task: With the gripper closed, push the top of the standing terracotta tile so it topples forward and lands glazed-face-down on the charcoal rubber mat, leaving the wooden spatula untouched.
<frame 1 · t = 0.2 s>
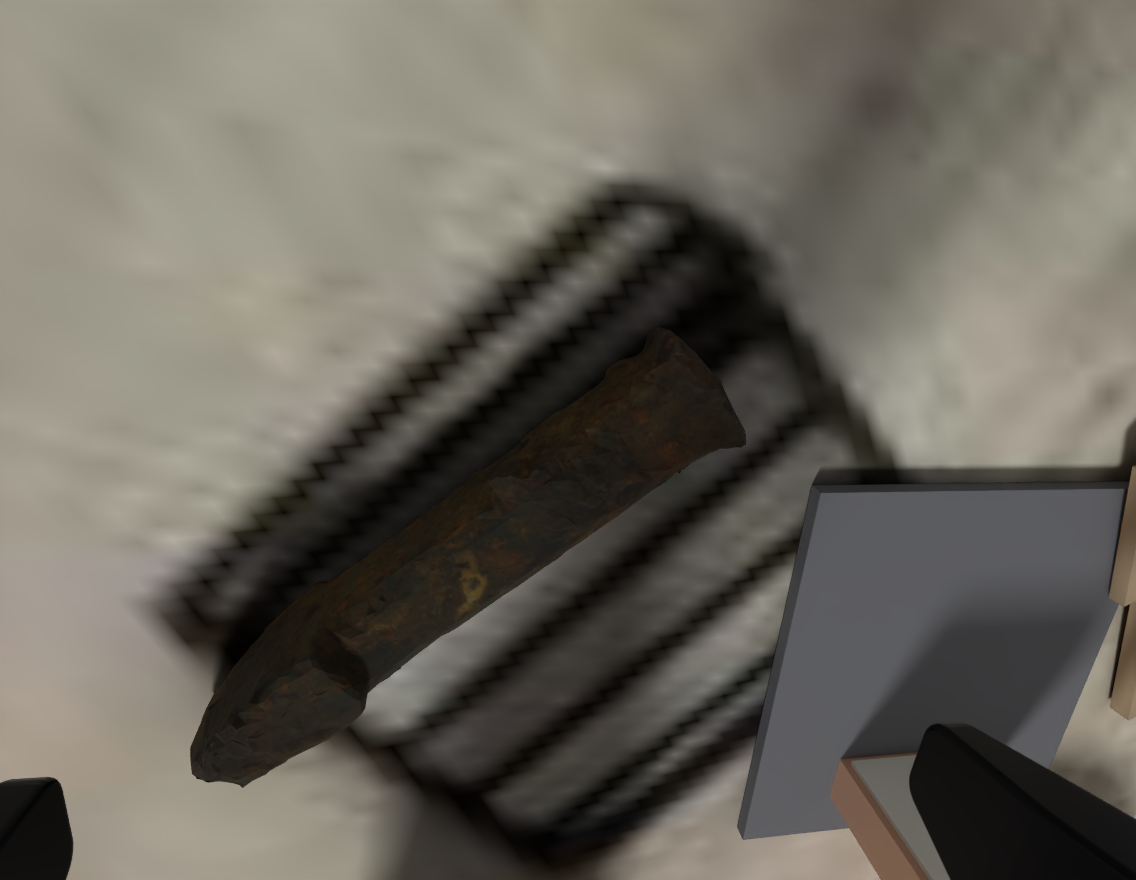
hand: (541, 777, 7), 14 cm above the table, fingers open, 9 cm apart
mat: (933, 664, 28), on the table
hand tool: (454, 539, 23), on the table
tile: (911, 770, 30), point 1 cm above the table, touching mat
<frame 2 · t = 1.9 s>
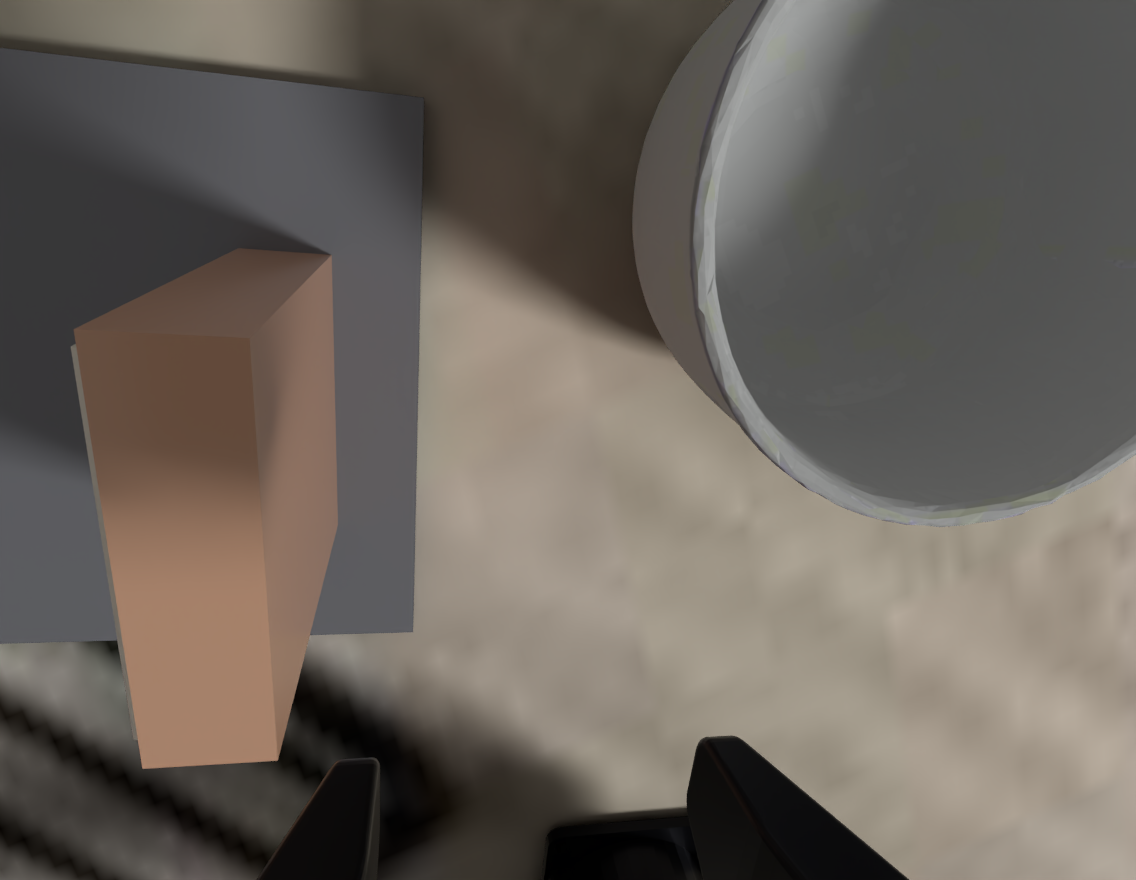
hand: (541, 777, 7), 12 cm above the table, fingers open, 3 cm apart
mat: (75, 382, 17), on the table
tile: (292, 397, 17), point 1 cm above the table, touching mat
teacup: (847, 191, 19), on the table
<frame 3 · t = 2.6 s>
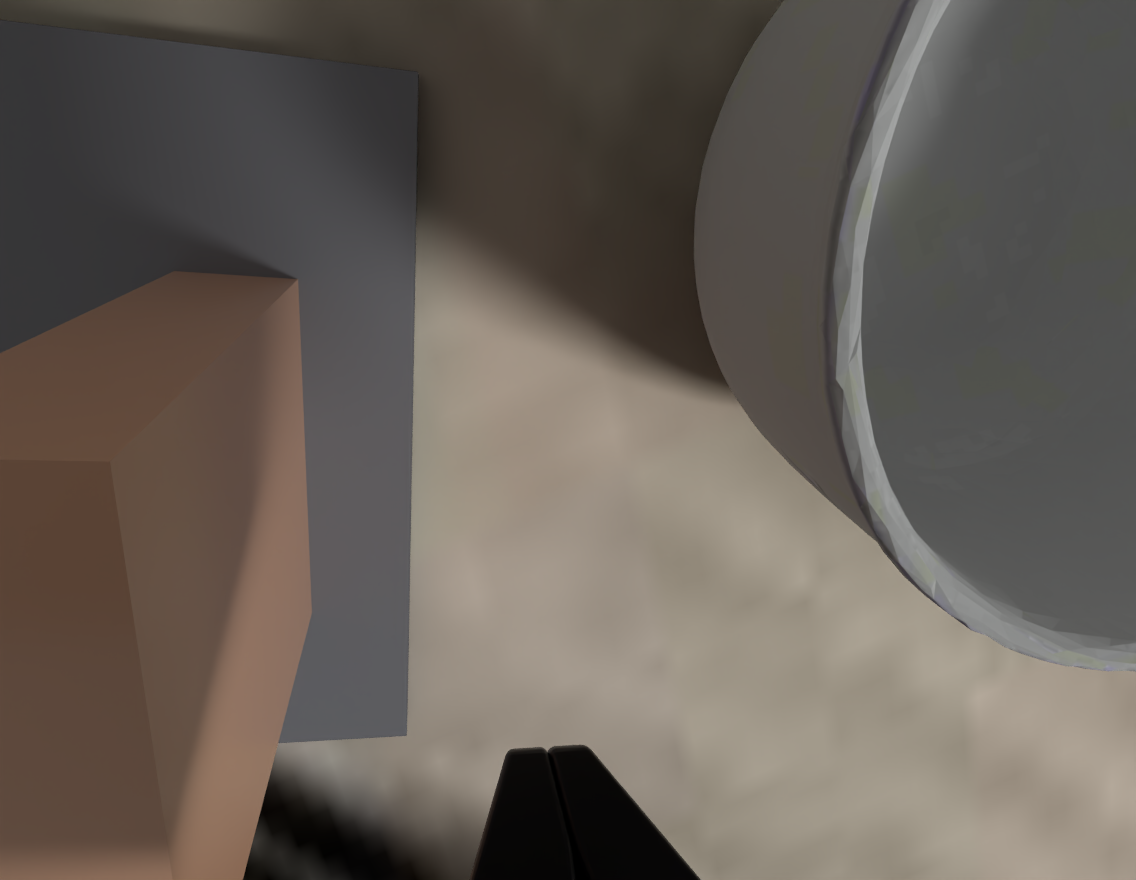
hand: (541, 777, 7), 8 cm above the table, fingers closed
tile: (250, 460, 14), point 1 cm above the table, touching mat
teacup: (951, 195, 15), on the table
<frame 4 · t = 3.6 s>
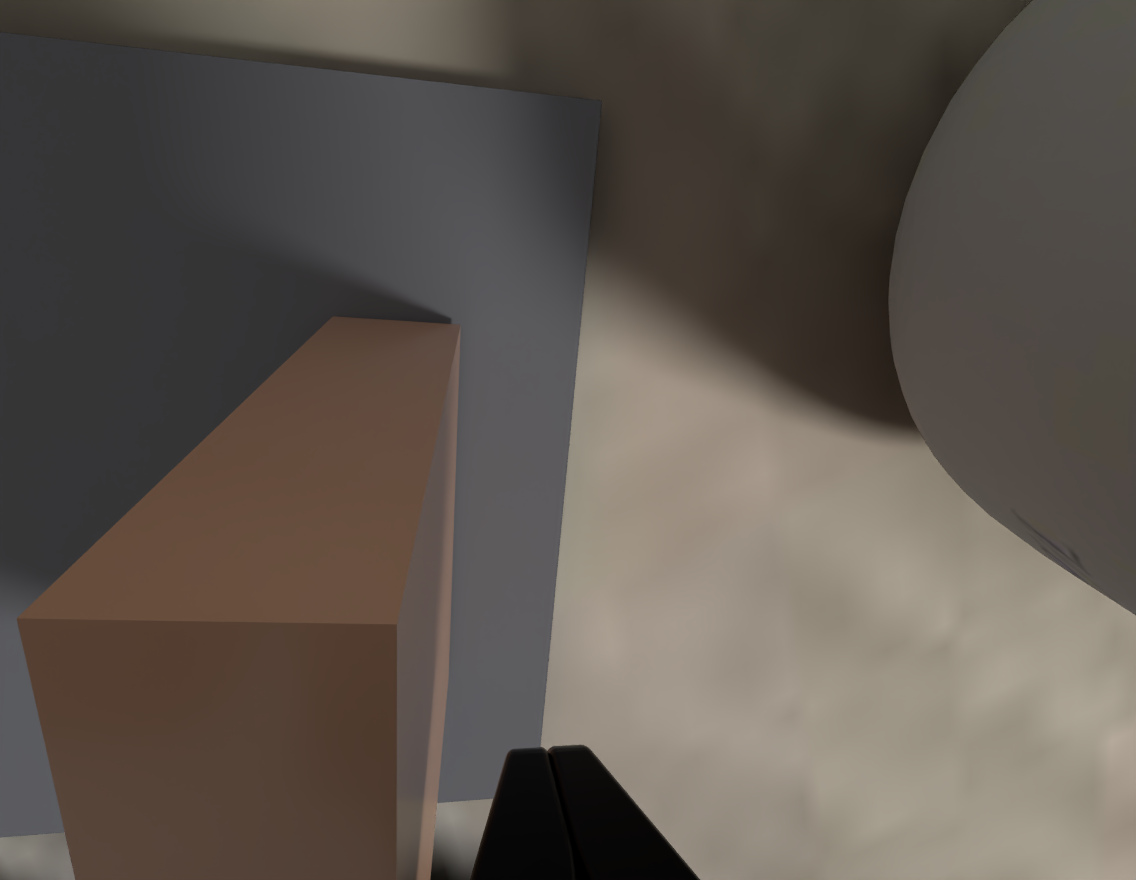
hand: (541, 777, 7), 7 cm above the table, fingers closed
mat: (101, 498, 12), on the table
tile: (397, 515, 13), point 1 cm above the table, touching gripper, mat
teacup: (1128, 221, 14), on the table
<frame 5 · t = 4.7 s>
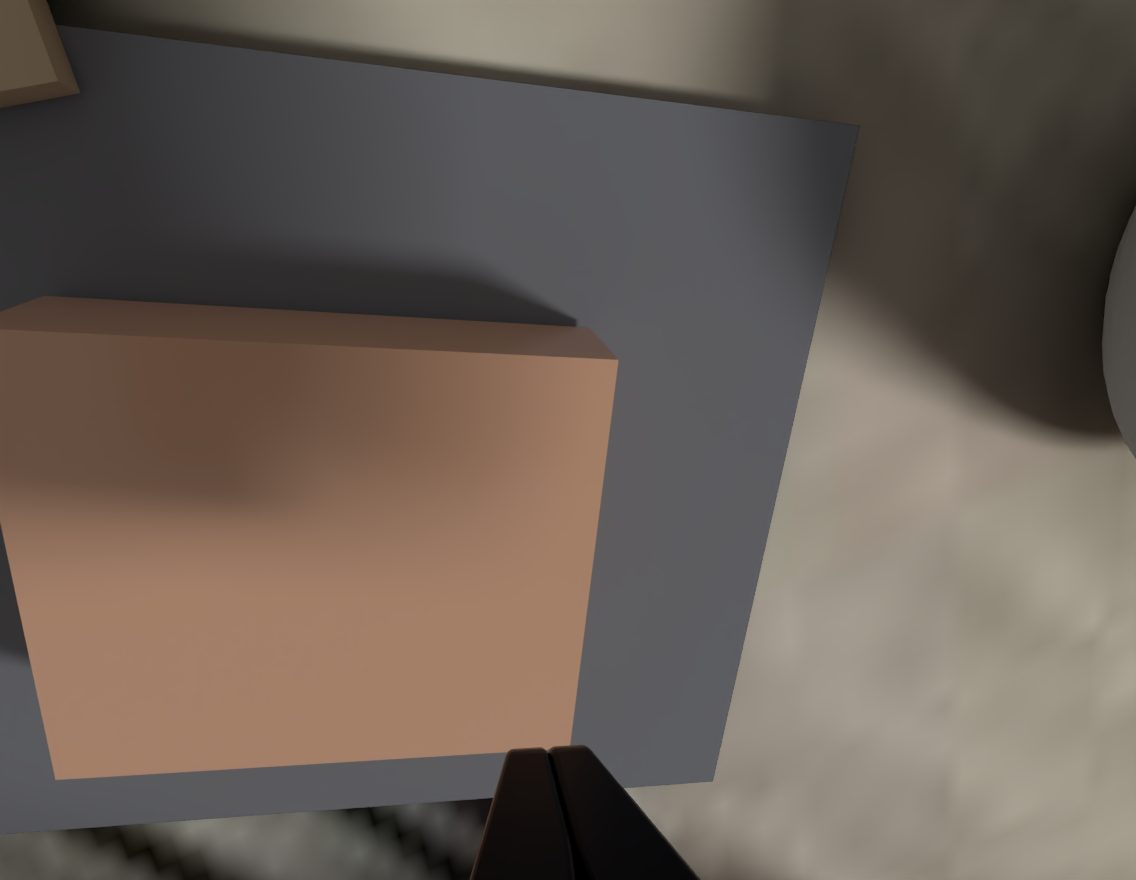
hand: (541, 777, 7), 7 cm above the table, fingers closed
mat: (353, 494, 13), on the table
tile: (579, 543, 12), point 2 cm above the table, tilted 90°, touching mat
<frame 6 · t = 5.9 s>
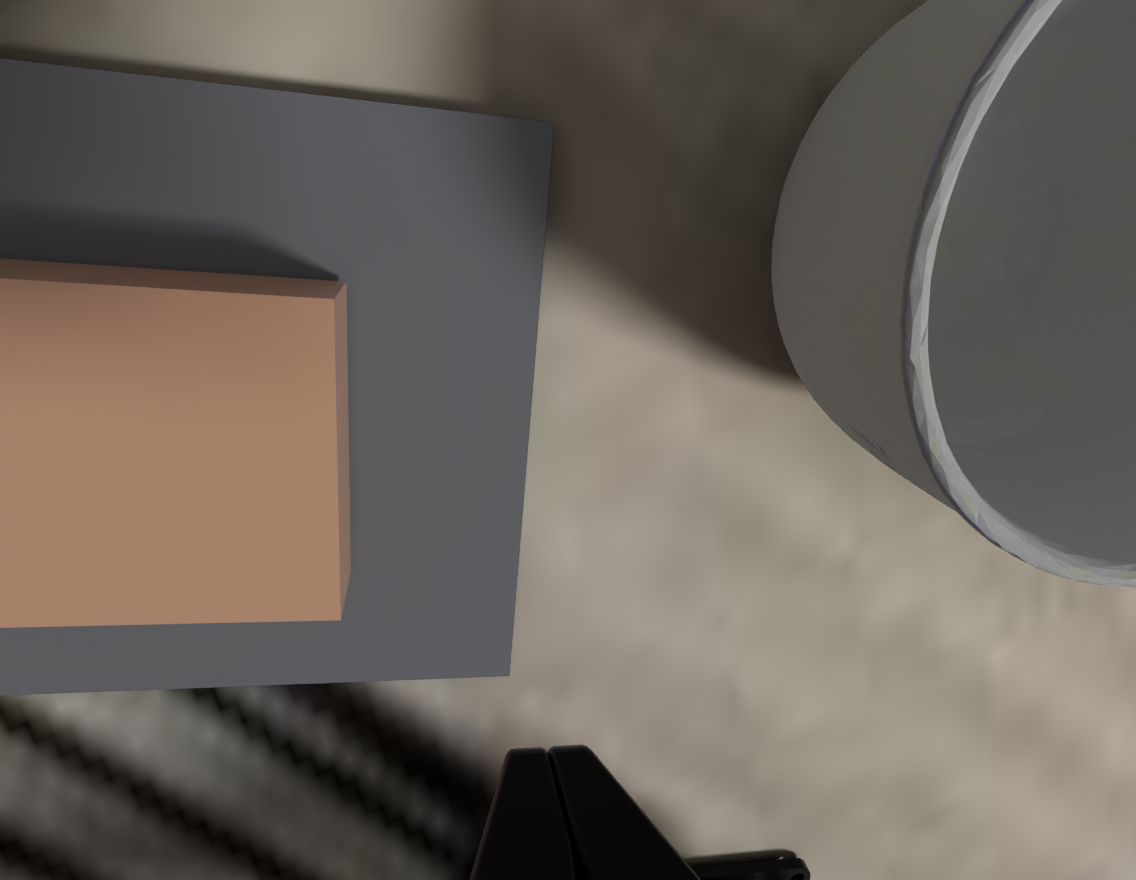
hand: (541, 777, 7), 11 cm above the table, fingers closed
mat: (174, 420, 16), on the table
tile: (343, 454, 15), point 2 cm above the table, tilted 90°, touching mat
teacup: (975, 216, 18), on the table
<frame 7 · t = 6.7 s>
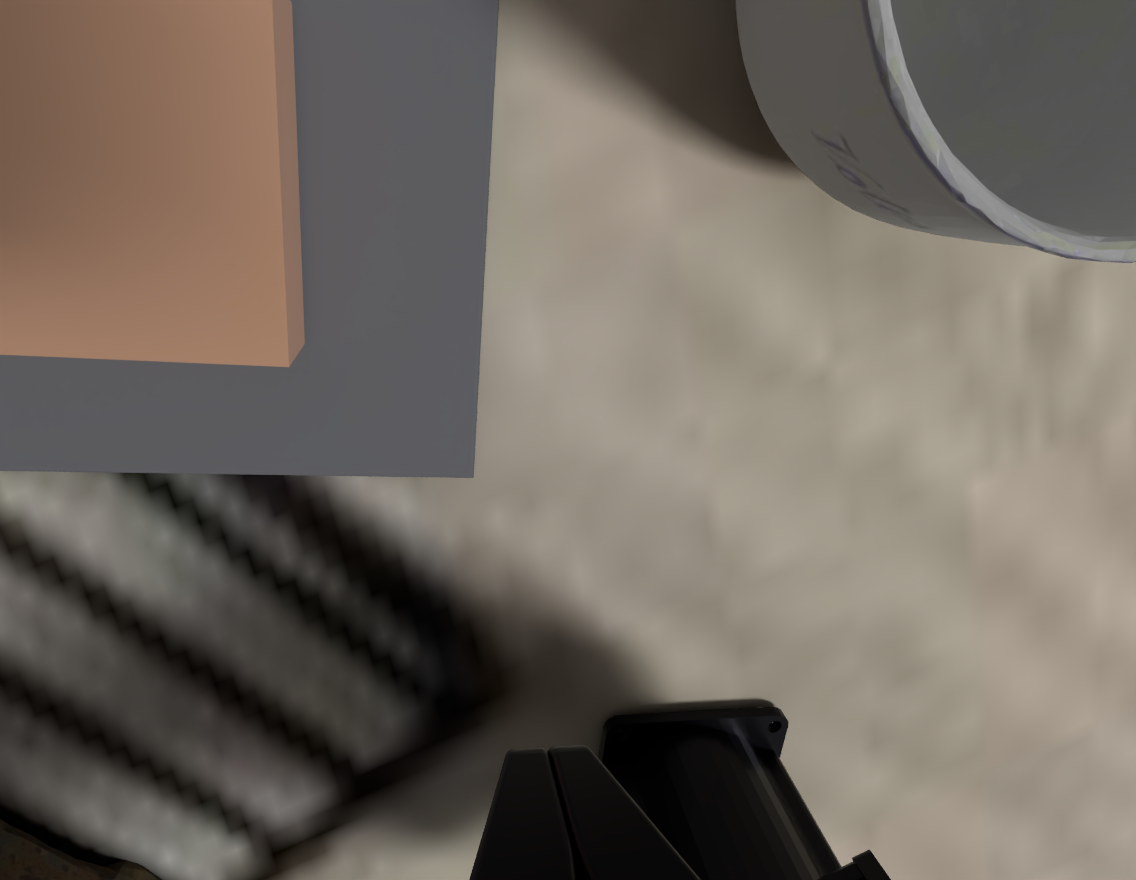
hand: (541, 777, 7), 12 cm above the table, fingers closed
mat: (118, 168, 15), on the table
hand tool: (2, 801, 21), on the table
tile: (290, 189, 15), point 2 cm above the table, tilted 90°, touching mat
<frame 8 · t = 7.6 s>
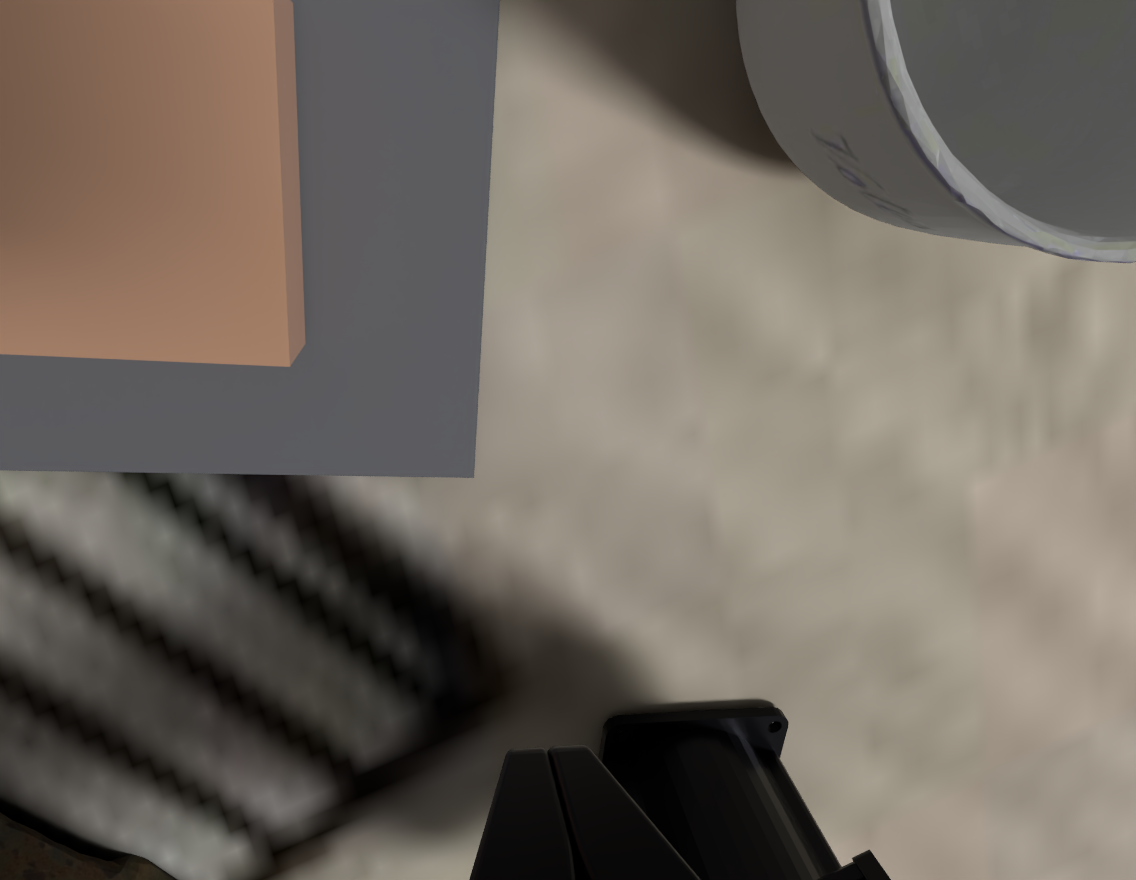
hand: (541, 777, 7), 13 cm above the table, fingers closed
mat: (119, 168, 15), on the table
hand tool: (5, 797, 21), on the table
tile: (291, 189, 15), point 2 cm above the table, tilted 90°, touching mat
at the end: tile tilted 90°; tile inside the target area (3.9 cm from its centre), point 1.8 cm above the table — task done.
